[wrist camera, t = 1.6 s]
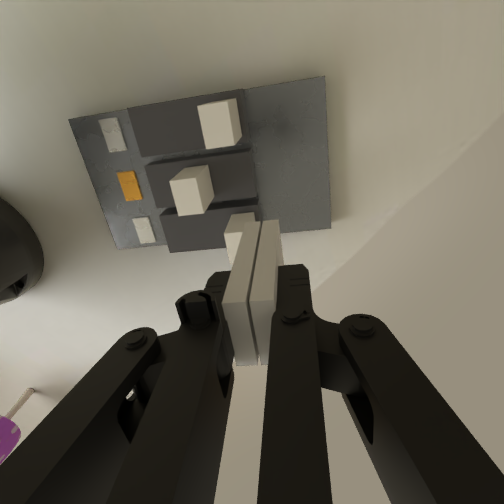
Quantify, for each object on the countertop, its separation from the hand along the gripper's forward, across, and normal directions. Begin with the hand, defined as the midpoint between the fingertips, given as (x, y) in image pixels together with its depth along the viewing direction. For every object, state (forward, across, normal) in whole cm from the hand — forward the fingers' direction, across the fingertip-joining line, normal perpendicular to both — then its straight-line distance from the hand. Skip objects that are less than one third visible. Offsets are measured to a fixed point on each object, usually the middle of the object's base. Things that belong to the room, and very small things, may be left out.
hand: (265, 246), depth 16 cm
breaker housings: (+17, -7, 0) cm, 18 cm away
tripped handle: (+15, -7, 0) cm, 16 cm away
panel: (+18, -7, 0) cm, 20 cm away
